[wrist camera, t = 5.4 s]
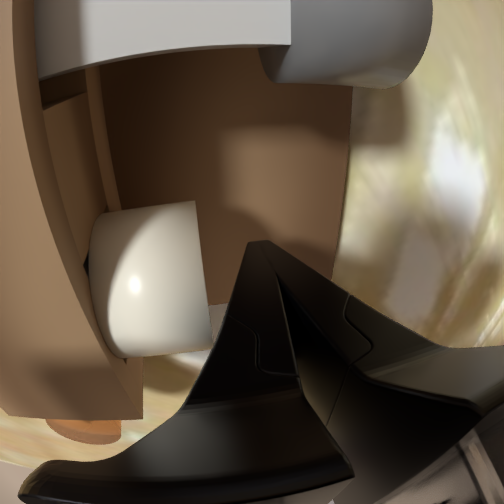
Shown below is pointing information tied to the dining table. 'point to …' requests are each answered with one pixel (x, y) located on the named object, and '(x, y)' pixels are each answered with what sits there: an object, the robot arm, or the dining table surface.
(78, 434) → the copper domed knob
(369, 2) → the graphite knob
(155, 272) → the cream knob
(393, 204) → the dining table surface
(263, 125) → the walnut mount
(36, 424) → the dining table surface
